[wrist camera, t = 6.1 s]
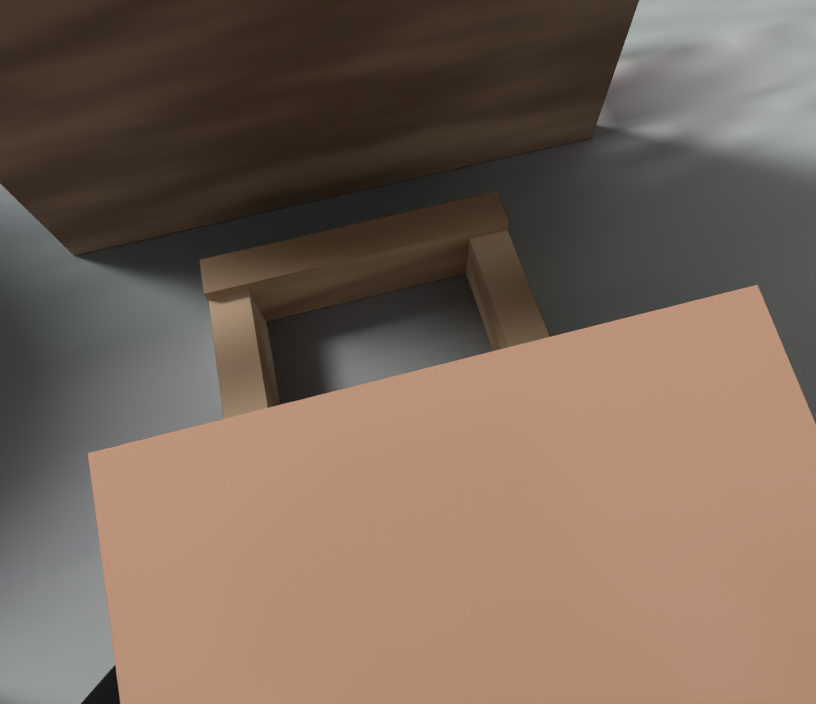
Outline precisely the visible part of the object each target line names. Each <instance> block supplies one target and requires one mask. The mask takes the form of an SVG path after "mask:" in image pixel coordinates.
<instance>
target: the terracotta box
mask: <svg viewBox="0 0 816 704" xmlns="http://www.w3.org/2000/svg"><path fill="white" fill-rule="evenodd" d="M88 460H89V468H90V475H91V483H92V491H93V498H94V506H95V514H96V521H97V529H98V536H99V544H100V552H101V559H102V567H103V575H104V582H105V590H106V598H107V605H108V613H109V621H110V628H111V636H112V643H113V651H114V659H115V666H116V674H117V682H118V689H119V697H120V704H816V424H815V421H814V419H813V416H812V414H811V412H810V409H809V407H808V404H807V402H806V400H805V397H804V395H803V392H802V390H801V388H800V385H799V383H798V380H797V378H796V376H795V373H794V371H793V368H792V366H791V364H790V361H789V359H788V356H787V354H786V352H785V349H784V347H783V344H782V342H781V340H780V337H779V335H778V332H777V330H776V328H775V325H774V323H773V321H772V318H771V316H770V313H769V311H768V309H767V306H766V304H765V301H764V299H763V297H762V294H761V292H760V289H759V287H758V285H754V286H750V287H746V288H742V289H738V290H734V291H730V292H726V293H722V294H718V295H714V296H710V297H706V298H702V299H698V300H694V301H691V302H687V303H683V304H679V305H675V306H671V307H667V308H663V309H659V310H655V311H651V312H647V313H643V314H639V315H635V316H631V317H627V318H623V319H619V320H615V321H611V322H607V323H603V324H599V325H595V326H591V327H587V328H583V329H579V330H575V331H571V332H567V333H563V334H559V335H555V336H551V337H547V338H544V339H540V340H536V341H532V342H528V343H524V344H520V345H516V346H512V347H508V348H504V349H500V350H496V351H492V352H488V353H484V354H480V355H476V356H472V357H468V358H464V359H460V360H456V361H452V362H448V363H444V364H440V365H436V366H432V367H428V368H424V369H420V370H416V371H412V372H408V373H404V374H400V375H397V376H393V377H389V378H385V379H381V380H377V381H373V382H369V383H365V384H361V385H357V386H353V387H349V388H345V389H341V390H337V391H333V392H329V393H325V394H321V395H317V396H313V397H309V398H305V399H301V400H297V401H293V402H289V403H285V404H281V405H277V406H273V407H269V408H265V409H261V410H257V411H253V412H250V413H246V414H242V415H238V416H234V417H230V418H226V419H222V420H218V421H214V422H210V423H206V424H202V425H198V426H194V427H190V428H186V429H182V430H178V431H174V432H170V433H166V434H162V435H158V436H154V437H150V438H146V439H142V440H138V441H134V442H130V443H126V444H122V445H118V446H114V447H110V448H106V449H103V450H99V451H95V452H91V453H88Z"/></svg>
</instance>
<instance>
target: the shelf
mask: <svg viewBox="0 0 816 704" xmlns="http://www.w3.org/2000/svg"><path fill="white" fill-rule="evenodd" d="M638 2H639V0H0V183H1V184H2V185H3V186H4V187H5V188H6V189H7V190H8V191H9V192H10V193H11V194H12V195H13V196H14V197H15V198H16V199H17V200H18V201H19V202H20V203H21V204H22V205H23V206H24V207H25V208H26V209H27V210H28V211H29V212H30V213H31V214H32V215H33V216H34V217H35V218H36V219H37V220H38V221H39V222H40V223H41V224H42V225H43V226H44V227H45V228H46V229H47V230H48V231H49V232H51V233H52V234H53V235H54V236H55V237H56V238H57V239H58V240H59V241H60V242H61V243H62V244H63V245H64V246H65V247H66V248H67V249H68V250H69V251H70V252H71V253H72V254H73V255H79V254H83V253H87V252H92V251H96V250H101V249H105V248H109V247H114V246H118V245H123V244H127V243H131V242H136V241H140V240H144V239H149V238H153V237H158V236H162V235H166V234H171V233H175V232H180V231H184V230H188V229H193V228H197V227H202V226H206V225H210V224H215V223H219V222H224V221H228V220H232V219H237V218H241V217H246V216H250V215H254V214H259V213H263V212H267V211H272V210H276V209H281V208H285V207H289V206H294V205H298V204H303V203H307V202H311V201H316V200H320V199H325V198H329V197H333V196H338V195H342V194H347V193H351V192H355V191H360V190H364V189H369V188H373V187H377V186H382V185H386V184H390V183H395V182H399V181H404V180H408V179H412V178H417V177H421V176H426V175H430V174H434V173H439V172H443V171H448V170H452V169H456V168H461V167H465V166H470V165H474V164H478V163H483V162H487V161H492V160H496V159H500V158H505V157H509V156H513V155H518V154H522V153H527V152H531V151H535V150H540V149H544V148H549V147H553V146H557V145H562V144H566V143H571V142H575V141H579V140H584V139H588V138H592V136H593V133H594V130H595V127H596V124H597V121H598V118H599V115H600V112H601V109H602V106H603V104H604V101H605V98H606V95H607V92H608V89H609V86H610V83H611V80H612V77H613V74H614V71H615V69H616V66H617V63H618V60H619V57H620V54H621V51H622V48H623V45H624V42H625V39H626V37H627V34H628V31H629V28H630V25H631V22H632V19H633V16H634V13H635V10H636V7H637V4H638ZM508 225H509V220H508V218H507V215H506V213H505V210H504V208H503V205H502V203H501V200H500V198H499V195H498V193H497V191H494V192H490V193H486V194H481V195H477V196H473V197H468V198H464V199H460V200H455V201H451V202H447V203H442V204H438V205H434V206H430V207H425V208H421V209H417V210H412V211H408V212H404V213H399V214H395V215H391V216H386V217H382V218H378V219H373V220H369V221H365V222H360V223H356V224H352V225H347V226H343V227H339V228H334V229H330V230H326V231H322V232H317V233H313V234H309V235H304V236H300V237H296V238H291V239H287V240H283V241H278V242H274V243H270V244H265V245H261V246H257V247H252V248H248V249H244V250H239V251H235V252H231V253H226V254H222V255H218V256H214V257H209V258H205V259H201V260H200V269H201V277H202V285H203V293H204V295H205V296H206V298H207V299H208V301H209V308H210V316H211V324H212V331H213V339H214V347H215V355H216V363H217V371H218V378H219V386H220V394H221V402H222V410H223V418H224V419H226V418H230V417H234V416H238V415H242V414H246V413H250V412H253V411H257V410H261V409H265V408H269V407H273V406H277V405H281V403H280V397H279V391H278V385H277V380H276V374H275V368H274V362H273V356H272V351H271V345H270V339H269V333H268V327H267V321H271V320H275V319H280V318H284V317H288V316H292V315H296V314H300V313H305V312H309V311H313V310H317V309H321V308H325V307H329V306H334V305H338V304H342V303H346V302H350V301H354V300H359V299H363V298H367V297H371V296H375V295H379V294H383V293H388V292H392V291H396V290H400V289H404V288H408V287H413V286H417V285H421V284H425V283H429V282H433V281H437V280H442V279H446V278H450V277H454V276H458V275H462V274H466V275H467V278H468V281H469V284H470V286H471V289H472V292H473V295H474V298H475V301H476V304H477V307H478V310H479V312H480V315H481V318H482V321H483V324H484V327H485V330H486V333H487V335H488V338H489V341H490V344H491V347H492V350H493V351H496V350H500V349H504V348H508V347H512V346H516V345H520V344H524V343H528V342H532V341H536V340H540V339H544V338H547V337H550V336H549V333H548V331H547V328H546V326H545V323H544V321H543V318H542V316H541V313H540V311H539V308H538V306H537V303H536V301H535V298H534V296H533V293H532V290H531V288H530V285H529V283H528V280H527V278H526V275H525V273H524V270H523V268H522V265H521V263H520V260H519V258H518V255H517V253H516V250H515V248H514V245H513V243H512V240H511V238H510V235H509V232H508Z"/></svg>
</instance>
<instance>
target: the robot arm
mask: <svg viewBox="0 0 816 704" xmlns="http://www.w3.org/2000/svg"><path fill="white" fill-rule="evenodd" d="M81 704H120V697H119V689H118V682H117V674H116V666H115V665H114V667H113V668H112V669H111V670H110V671H109V672H108V673H107V675H106V676H105V677H104V678H103V679H102V680H101V681H100V683H99V684H98V685H97V686H96V687H95V688H94V689H93V691H92V692H91V693H90V694H89V695H88V696H87V697H86V698H85V700H84V701H83V702H82V703H81Z"/></svg>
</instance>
